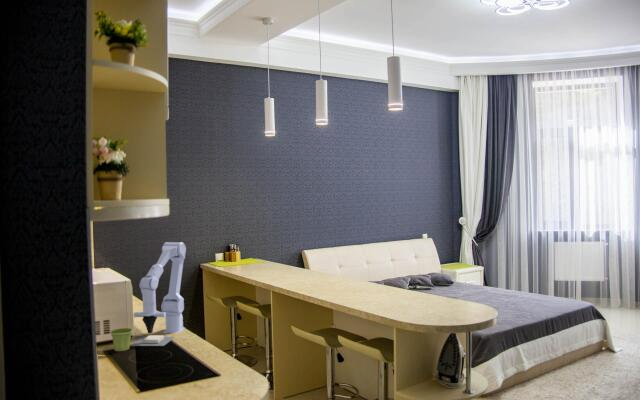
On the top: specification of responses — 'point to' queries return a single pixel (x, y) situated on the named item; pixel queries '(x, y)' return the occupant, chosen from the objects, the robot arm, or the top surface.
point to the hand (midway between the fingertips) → (150, 332)
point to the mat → (161, 343)
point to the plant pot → (121, 338)
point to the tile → (153, 339)
